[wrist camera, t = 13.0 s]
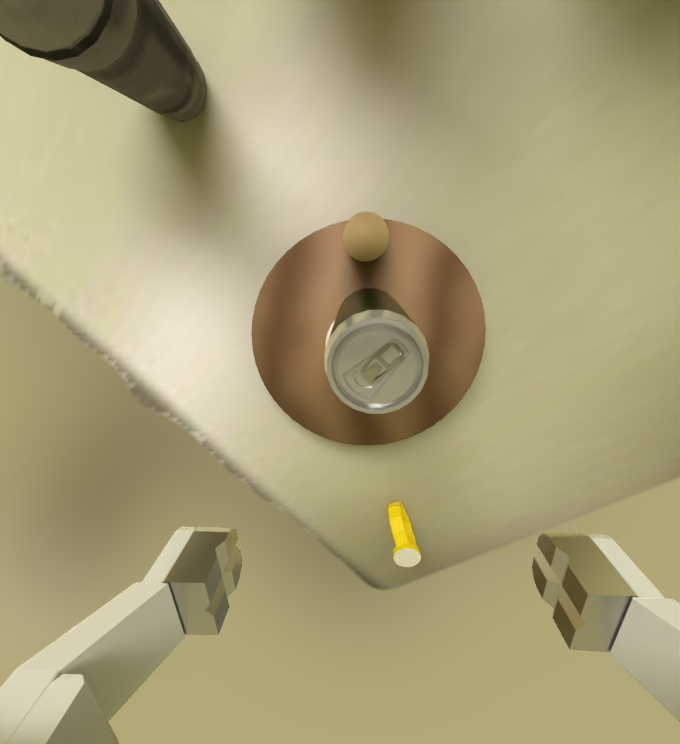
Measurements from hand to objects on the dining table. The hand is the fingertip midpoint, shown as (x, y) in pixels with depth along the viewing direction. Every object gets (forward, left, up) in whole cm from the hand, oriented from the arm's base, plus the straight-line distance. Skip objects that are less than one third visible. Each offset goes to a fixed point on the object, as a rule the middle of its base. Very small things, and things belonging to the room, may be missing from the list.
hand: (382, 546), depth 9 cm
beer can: (0, -2, -20) cm, 20 cm away
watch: (-4, +21, -23) cm, 32 cm away
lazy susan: (0, 0, -23) cm, 23 cm away
